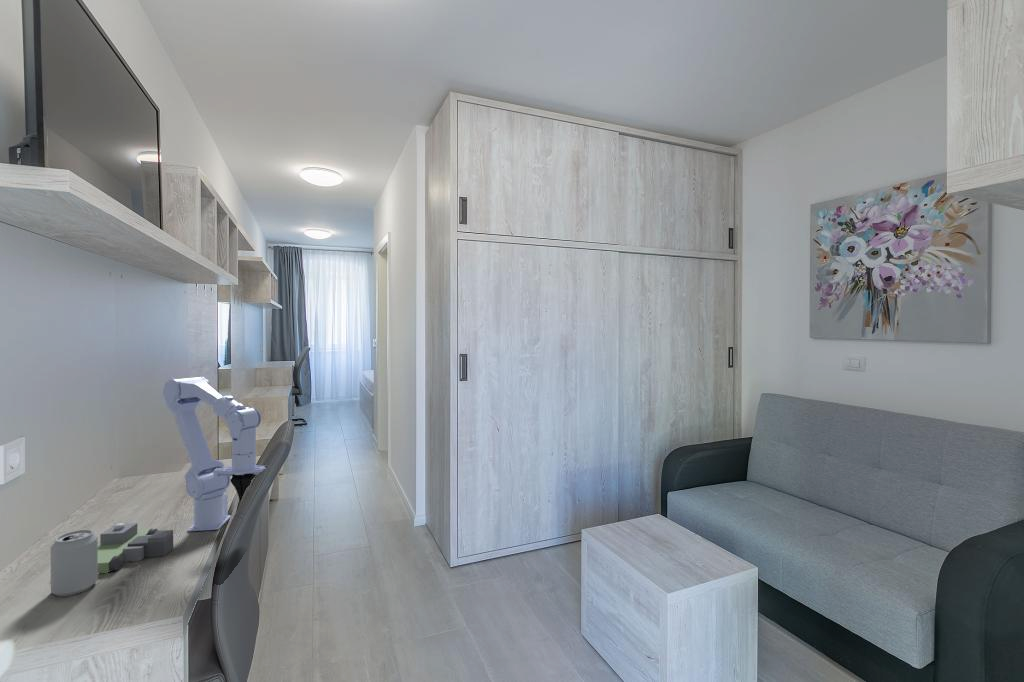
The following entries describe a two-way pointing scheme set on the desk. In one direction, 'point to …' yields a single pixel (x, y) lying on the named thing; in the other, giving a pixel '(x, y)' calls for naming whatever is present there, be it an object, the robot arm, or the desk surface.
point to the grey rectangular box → (155, 543)
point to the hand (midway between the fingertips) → (243, 501)
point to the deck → (120, 546)
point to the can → (74, 562)
